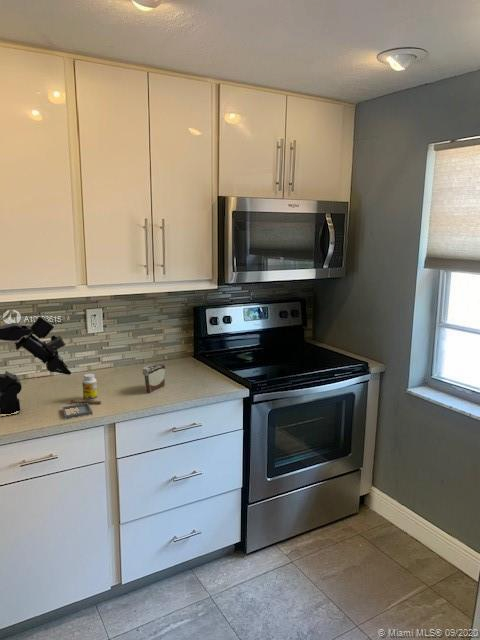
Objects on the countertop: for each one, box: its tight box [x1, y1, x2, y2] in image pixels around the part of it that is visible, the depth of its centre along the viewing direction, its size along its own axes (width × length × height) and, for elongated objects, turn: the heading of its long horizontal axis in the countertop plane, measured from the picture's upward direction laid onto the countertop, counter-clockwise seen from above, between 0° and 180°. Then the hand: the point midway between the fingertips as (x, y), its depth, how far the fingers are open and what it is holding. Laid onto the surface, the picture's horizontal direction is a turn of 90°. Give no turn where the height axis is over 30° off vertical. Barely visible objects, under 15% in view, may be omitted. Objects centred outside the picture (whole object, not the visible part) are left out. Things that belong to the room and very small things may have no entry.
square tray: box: [61, 403, 93, 419], centre depth 178 cm, size 10×10×1 cm
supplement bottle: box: [82, 373, 99, 401], centre depth 190 cm, size 6×6×10 cm
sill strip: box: [70, 399, 102, 405], centre depth 186 cm, size 12×1×1 cm, turn 87°
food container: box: [142, 363, 167, 394], centre depth 202 cm, size 12×6×10 cm, turn 149°
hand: (68, 370), depth 185 cm, fingers open, 9 cm apart
